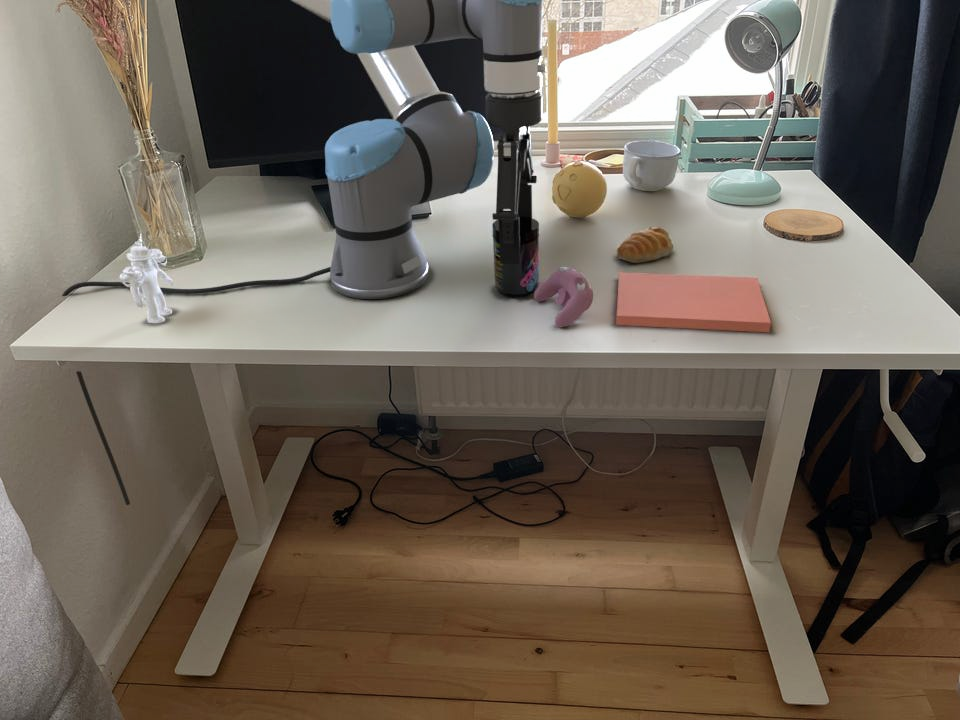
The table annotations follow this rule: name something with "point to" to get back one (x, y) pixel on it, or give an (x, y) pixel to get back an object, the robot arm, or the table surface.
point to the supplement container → (526, 274)
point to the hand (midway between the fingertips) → (517, 244)
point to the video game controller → (566, 294)
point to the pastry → (646, 245)
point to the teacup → (650, 164)
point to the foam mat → (691, 302)
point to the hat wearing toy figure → (147, 281)
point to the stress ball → (579, 189)
